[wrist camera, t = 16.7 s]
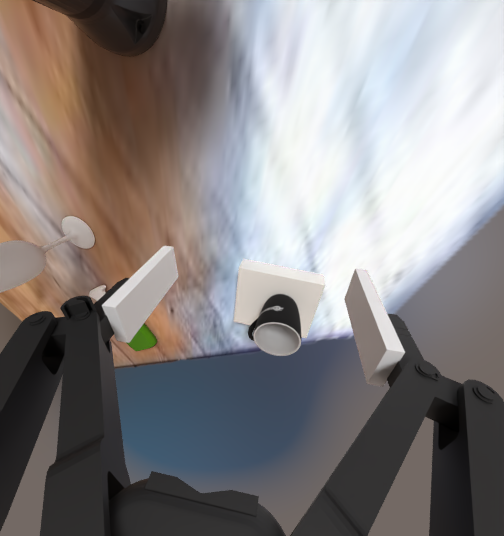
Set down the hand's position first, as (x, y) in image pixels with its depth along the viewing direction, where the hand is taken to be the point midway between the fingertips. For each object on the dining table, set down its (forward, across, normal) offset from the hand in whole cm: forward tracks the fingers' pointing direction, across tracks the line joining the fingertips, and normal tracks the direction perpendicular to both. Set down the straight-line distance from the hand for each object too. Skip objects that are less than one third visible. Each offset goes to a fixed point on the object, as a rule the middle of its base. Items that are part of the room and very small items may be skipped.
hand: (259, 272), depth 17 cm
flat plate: (+29, +2, -26) cm, 39 cm away
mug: (+25, +2, -26) cm, 36 cm away
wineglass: (+31, -49, -16) cm, 60 cm away
